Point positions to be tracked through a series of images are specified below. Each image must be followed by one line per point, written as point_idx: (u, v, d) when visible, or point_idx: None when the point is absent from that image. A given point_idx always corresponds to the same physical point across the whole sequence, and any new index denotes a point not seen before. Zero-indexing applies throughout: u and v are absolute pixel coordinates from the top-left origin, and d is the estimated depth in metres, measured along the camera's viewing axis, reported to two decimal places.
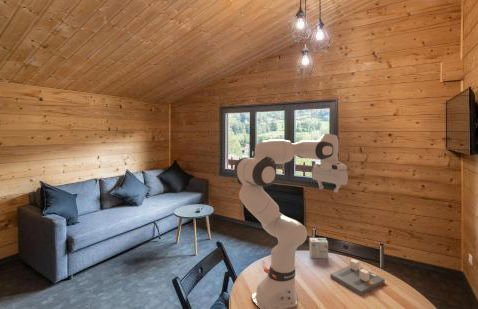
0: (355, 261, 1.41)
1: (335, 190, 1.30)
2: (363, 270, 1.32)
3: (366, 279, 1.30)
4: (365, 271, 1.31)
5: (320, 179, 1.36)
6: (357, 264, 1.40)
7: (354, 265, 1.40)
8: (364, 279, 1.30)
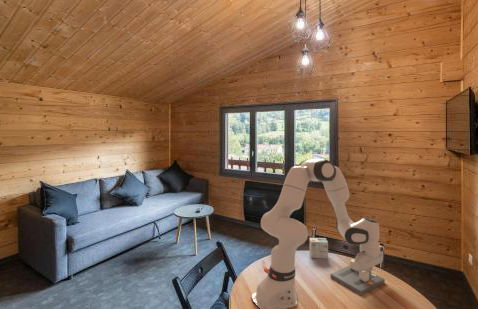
0: None
1: (370, 272, 1.33)
2: None
3: (366, 279, 1.29)
4: (365, 271, 1.31)
5: (367, 267, 1.29)
6: None
7: None
8: (364, 279, 1.30)
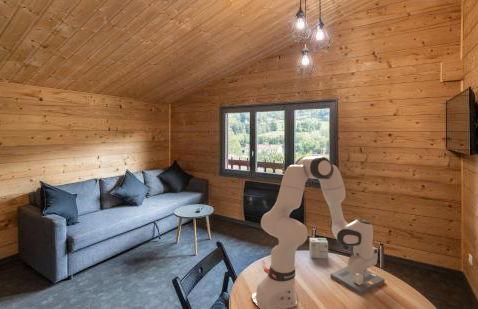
0: None
1: (364, 275, 1.30)
2: (357, 273, 1.29)
3: (360, 282, 1.27)
4: (359, 274, 1.28)
5: (361, 270, 1.26)
6: None
7: None
8: (358, 282, 1.27)
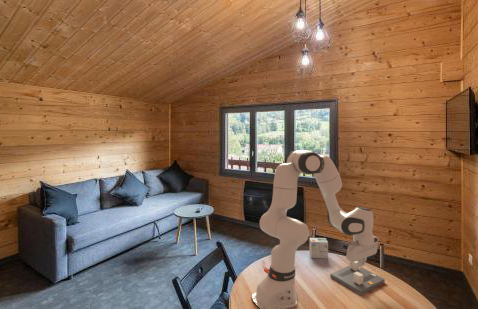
0: (355, 261, 1.41)
1: (364, 263, 1.29)
2: (357, 273, 1.29)
3: (360, 282, 1.27)
4: (359, 274, 1.28)
5: (360, 258, 1.25)
6: (357, 264, 1.40)
7: (354, 265, 1.40)
8: (358, 282, 1.27)
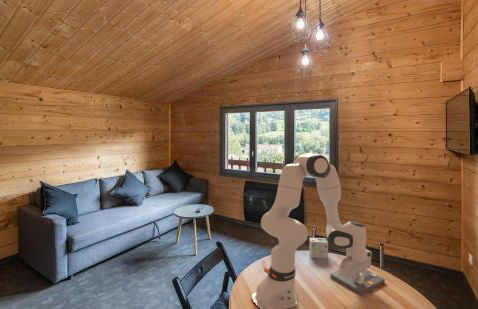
0: None
1: (357, 278, 1.27)
2: None
3: (361, 282, 1.27)
4: (360, 273, 1.28)
5: (353, 273, 1.23)
6: None
7: None
8: (359, 282, 1.27)
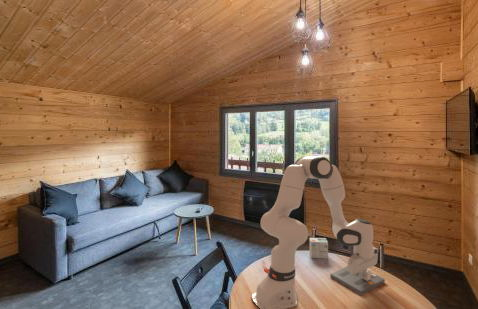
0: None
1: (364, 275, 1.30)
2: None
3: (368, 278, 1.30)
4: (367, 270, 1.31)
5: (360, 270, 1.26)
6: None
7: None
8: (366, 278, 1.30)
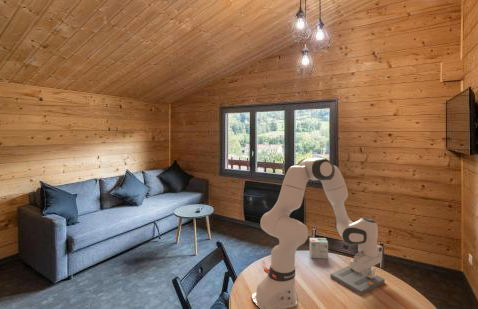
0: None
1: (369, 273, 1.32)
2: None
3: (372, 276, 1.32)
4: (371, 268, 1.33)
5: (365, 268, 1.28)
6: None
7: None
8: (370, 276, 1.32)
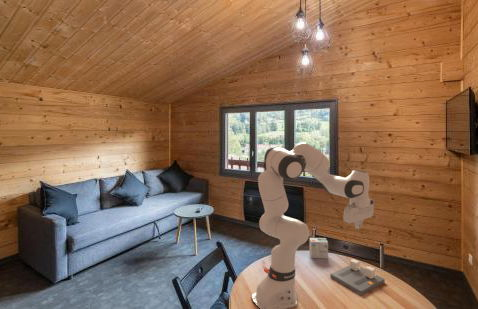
0: (355, 261, 1.41)
1: (360, 226, 1.30)
2: (369, 267, 1.34)
3: (372, 276, 1.32)
4: (371, 268, 1.33)
5: (356, 219, 1.27)
6: (357, 264, 1.40)
7: (354, 265, 1.40)
8: (370, 276, 1.32)
